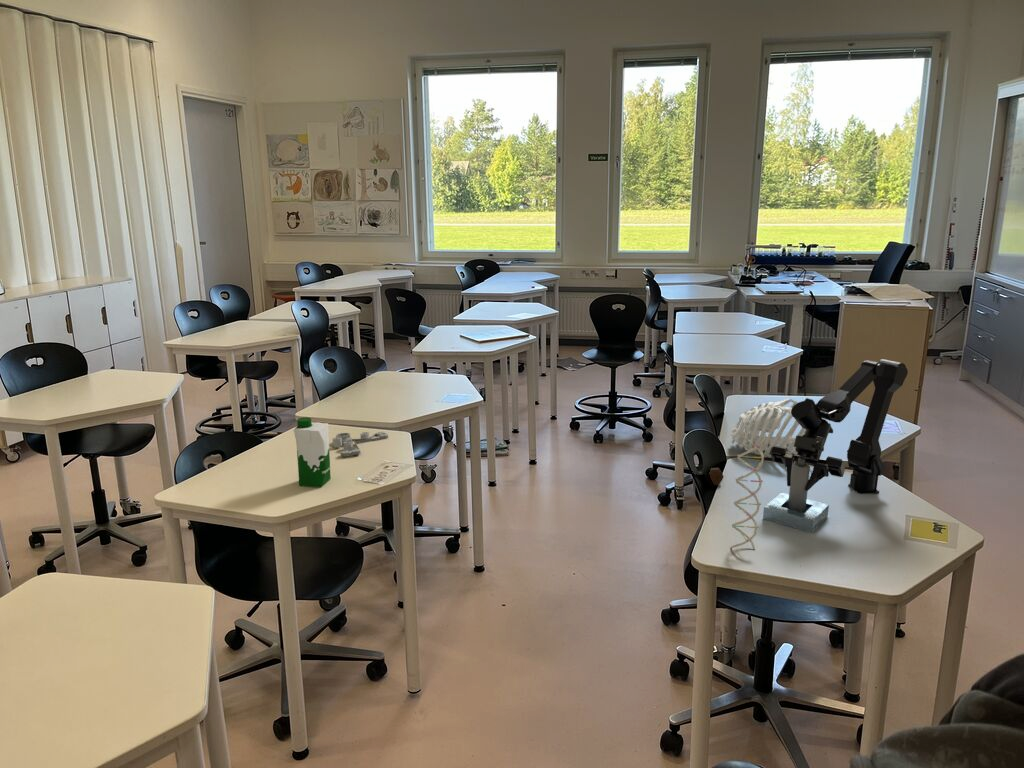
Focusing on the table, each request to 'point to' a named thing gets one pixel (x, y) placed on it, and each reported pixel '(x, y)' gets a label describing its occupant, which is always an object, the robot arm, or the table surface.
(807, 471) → the plug
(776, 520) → the grey square frame
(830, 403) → the robot arm
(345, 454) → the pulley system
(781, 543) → the table surface
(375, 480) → the table surface
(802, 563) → the table surface
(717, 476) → the bolt
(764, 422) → the rib cage
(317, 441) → the milk carton
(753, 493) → the dna model
